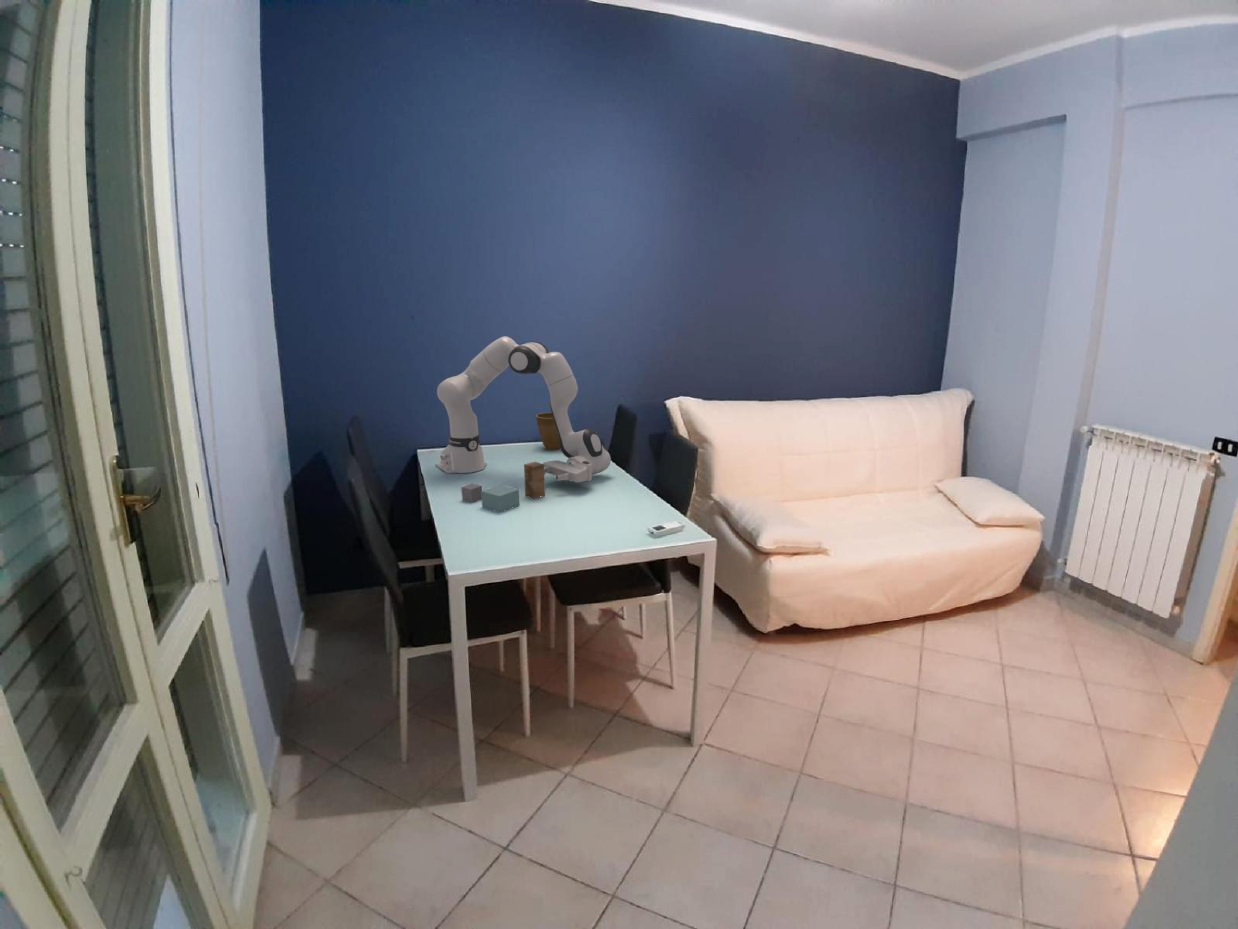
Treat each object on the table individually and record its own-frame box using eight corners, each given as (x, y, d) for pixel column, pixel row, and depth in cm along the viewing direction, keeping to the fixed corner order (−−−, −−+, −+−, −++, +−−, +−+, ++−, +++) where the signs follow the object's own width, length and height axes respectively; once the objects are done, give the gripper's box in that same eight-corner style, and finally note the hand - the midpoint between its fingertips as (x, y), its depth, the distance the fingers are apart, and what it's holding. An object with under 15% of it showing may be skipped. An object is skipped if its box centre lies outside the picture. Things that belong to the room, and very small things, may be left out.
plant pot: (571, 451, 283) (571, 417, 279) (539, 453, 279) (538, 419, 275) (565, 443, 297) (564, 411, 292) (535, 445, 293) (533, 412, 288)
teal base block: (482, 507, 211) (481, 491, 209) (501, 500, 218) (500, 484, 216) (500, 513, 206) (499, 496, 204) (519, 505, 213) (518, 489, 211)
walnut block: (525, 496, 222) (524, 464, 219) (536, 492, 225) (535, 461, 222) (533, 499, 219) (532, 467, 215) (544, 496, 222) (543, 464, 219)
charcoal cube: (462, 500, 218) (461, 487, 216) (473, 496, 222) (472, 483, 220) (472, 503, 215) (471, 489, 213) (482, 499, 219) (481, 485, 217)
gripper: (558, 454, 241) (530, 461, 231) (594, 465, 227) (566, 472, 217) (558, 470, 242) (531, 477, 233) (594, 481, 229) (567, 489, 219)
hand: (548, 475), depth 225 cm, fingers open, 8 cm apart
